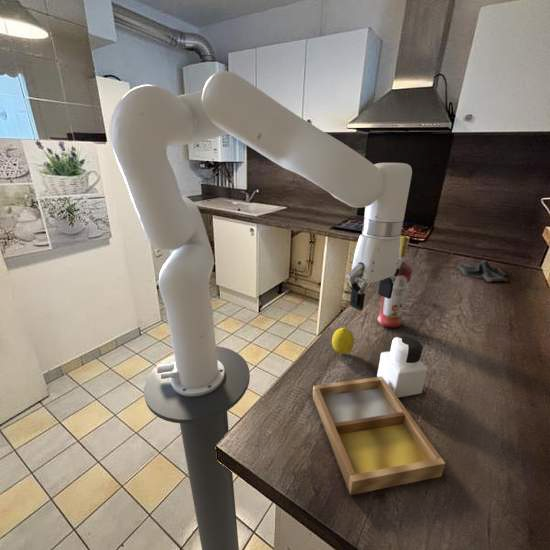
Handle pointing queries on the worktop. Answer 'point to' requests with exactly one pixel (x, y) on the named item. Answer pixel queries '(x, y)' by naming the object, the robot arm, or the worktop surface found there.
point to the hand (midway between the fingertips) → (370, 301)
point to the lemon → (342, 340)
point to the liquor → (396, 291)
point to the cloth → (483, 271)
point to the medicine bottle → (403, 367)
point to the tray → (374, 436)
